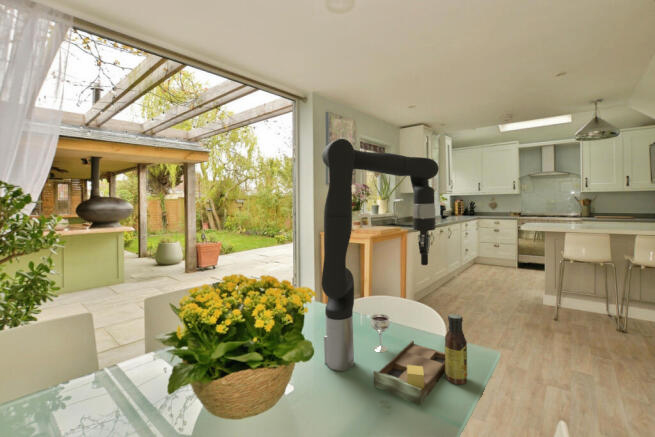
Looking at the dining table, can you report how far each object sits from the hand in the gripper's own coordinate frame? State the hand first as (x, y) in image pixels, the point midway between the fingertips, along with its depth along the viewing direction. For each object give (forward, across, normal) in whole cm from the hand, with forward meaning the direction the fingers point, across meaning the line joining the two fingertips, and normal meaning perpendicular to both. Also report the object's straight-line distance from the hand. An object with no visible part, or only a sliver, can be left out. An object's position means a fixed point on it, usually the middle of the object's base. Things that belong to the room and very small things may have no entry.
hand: (424, 264), depth 109 cm
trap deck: (+32, +15, -1) cm, 35 cm away
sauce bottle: (+32, +14, +11) cm, 37 cm away
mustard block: (+30, +25, 0) cm, 39 cm away
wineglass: (+32, +4, -16) cm, 36 cm away
